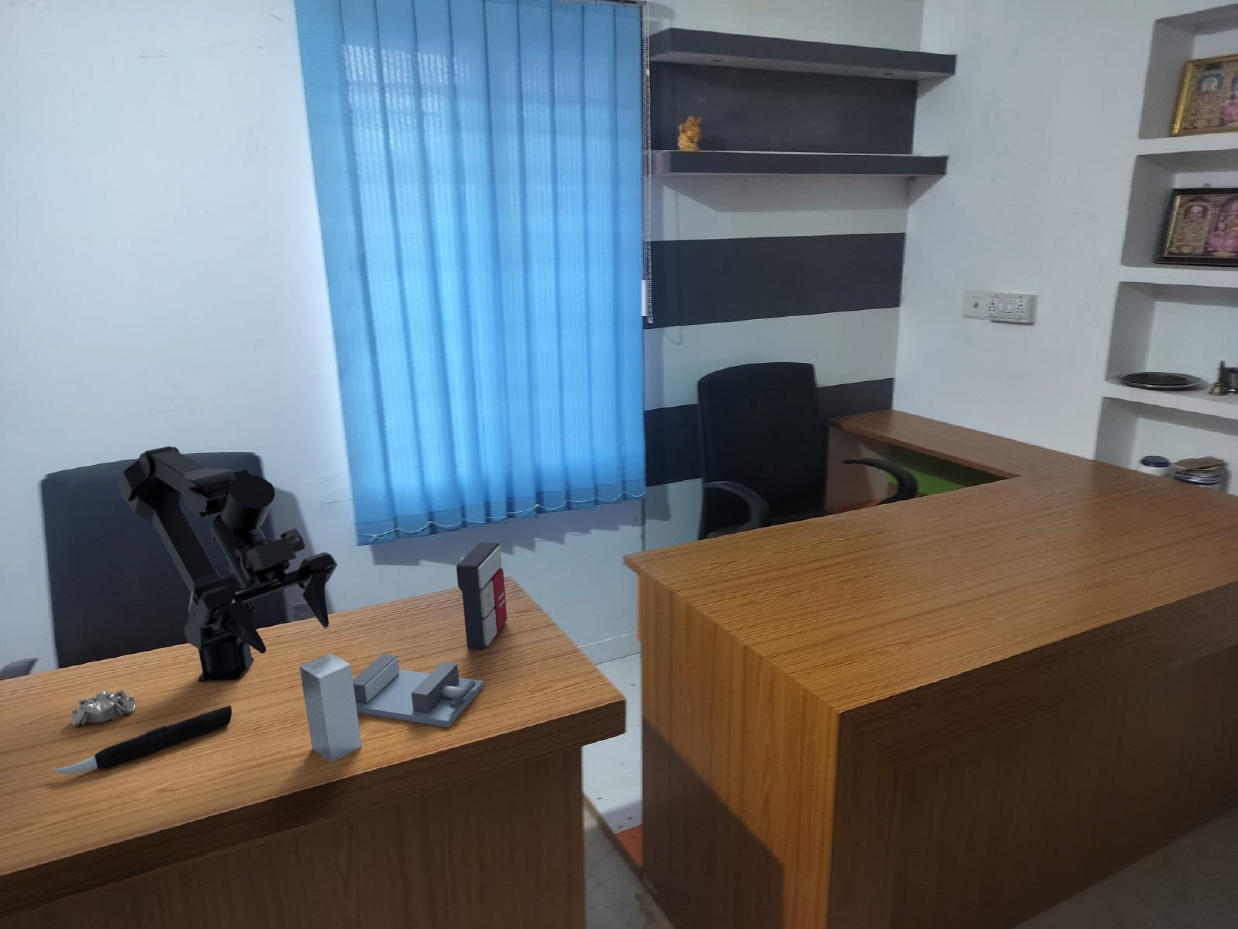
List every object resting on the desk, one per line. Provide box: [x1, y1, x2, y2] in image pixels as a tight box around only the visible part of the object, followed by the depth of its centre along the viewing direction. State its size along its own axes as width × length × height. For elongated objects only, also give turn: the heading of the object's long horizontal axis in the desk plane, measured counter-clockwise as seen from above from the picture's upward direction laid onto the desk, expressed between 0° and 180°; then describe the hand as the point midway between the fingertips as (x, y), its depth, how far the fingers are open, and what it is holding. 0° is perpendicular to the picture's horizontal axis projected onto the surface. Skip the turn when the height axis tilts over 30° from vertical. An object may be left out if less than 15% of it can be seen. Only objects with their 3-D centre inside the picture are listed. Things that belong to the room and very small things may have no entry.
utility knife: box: [52, 705, 233, 775], centre depth 113 cm, size 22×4×3 cm, turn 129°
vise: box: [352, 653, 485, 728], centre depth 123 cm, size 18×11×4 cm, turn 73°
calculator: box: [455, 541, 508, 650], centre depth 140 cm, size 11×4×15 cm, turn 168°
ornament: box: [71, 689, 136, 728], centre depth 122 cm, size 8×7×4 cm
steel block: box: [298, 652, 363, 764], centre depth 110 cm, size 4×5×12 cm
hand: (296, 638), depth 113 cm, fingers open, 9 cm apart
